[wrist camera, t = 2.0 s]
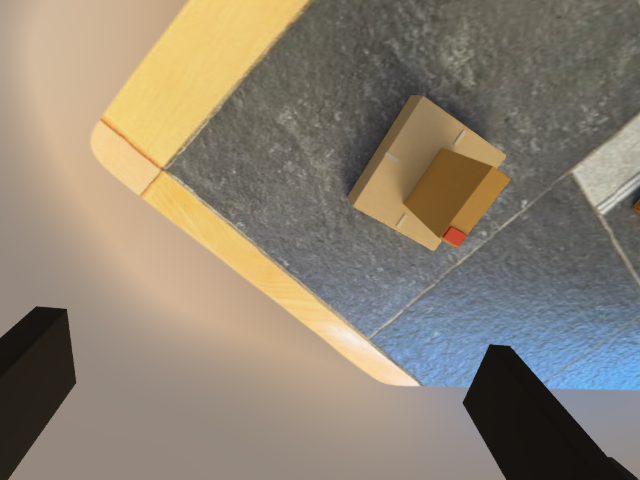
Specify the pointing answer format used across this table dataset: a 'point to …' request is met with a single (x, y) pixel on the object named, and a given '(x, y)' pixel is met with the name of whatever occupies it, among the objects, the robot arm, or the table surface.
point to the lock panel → (414, 164)
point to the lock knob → (455, 195)
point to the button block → (636, 207)
